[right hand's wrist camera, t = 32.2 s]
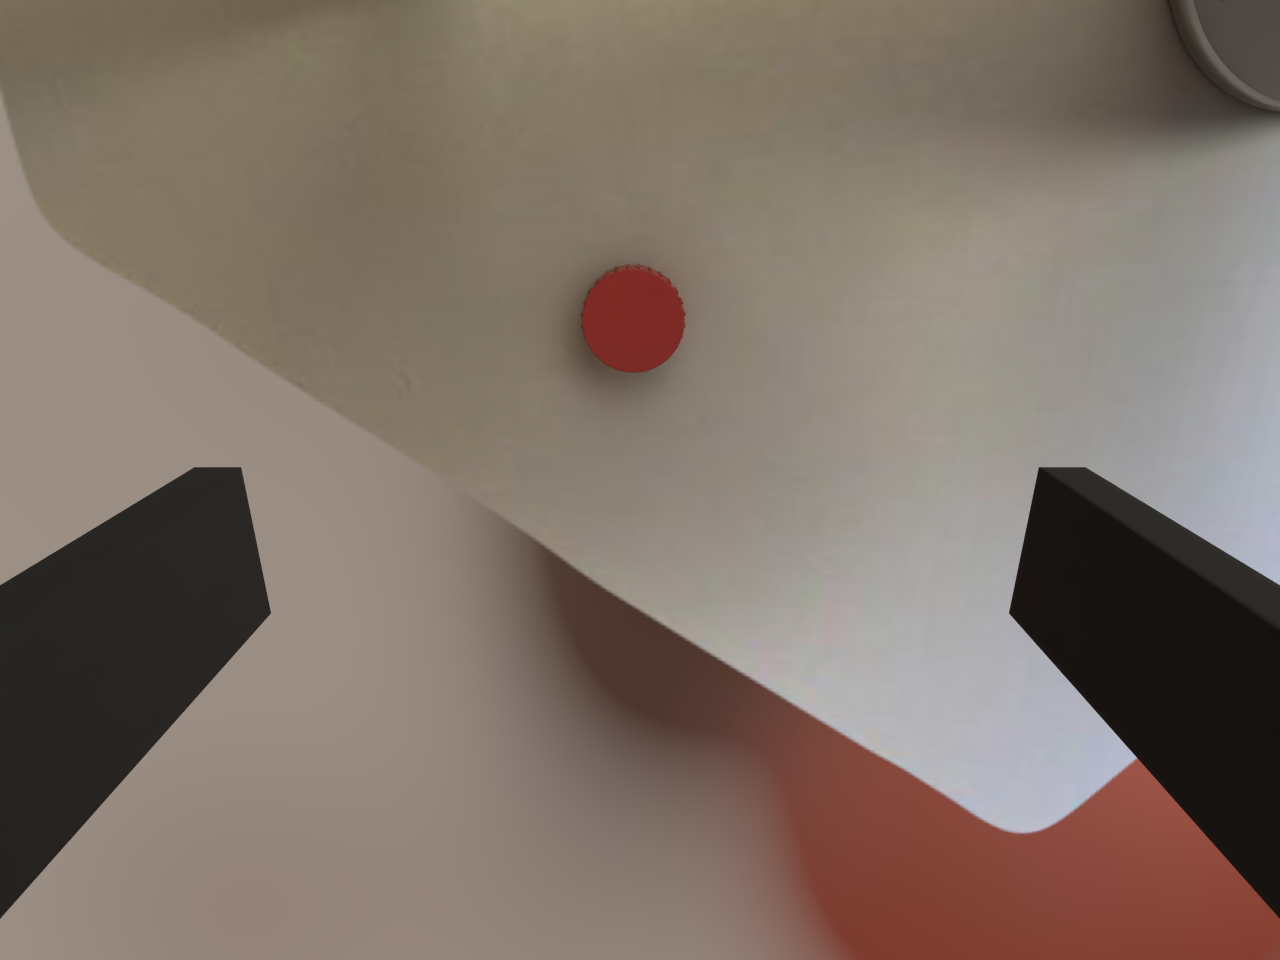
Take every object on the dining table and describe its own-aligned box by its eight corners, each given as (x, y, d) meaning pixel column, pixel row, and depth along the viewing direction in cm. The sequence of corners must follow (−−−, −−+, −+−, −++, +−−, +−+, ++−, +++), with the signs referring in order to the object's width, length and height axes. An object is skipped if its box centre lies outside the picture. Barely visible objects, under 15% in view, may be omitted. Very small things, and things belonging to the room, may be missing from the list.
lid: (657, 245, 36) (658, 248, 34) (699, 337, 37) (702, 346, 35) (566, 291, 36) (562, 297, 34) (611, 380, 38) (610, 390, 36)
